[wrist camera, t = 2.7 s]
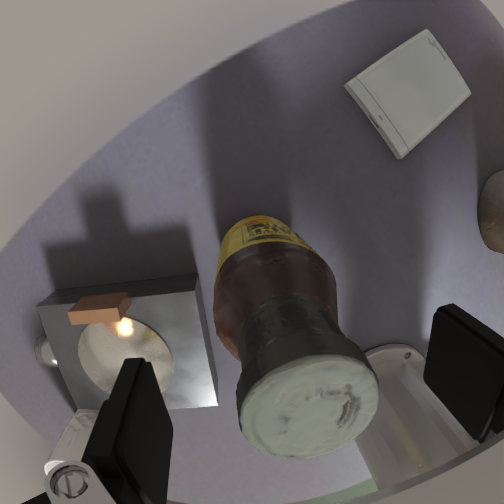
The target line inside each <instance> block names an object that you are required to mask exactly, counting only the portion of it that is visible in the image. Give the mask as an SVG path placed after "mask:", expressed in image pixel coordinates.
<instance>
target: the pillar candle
mask: <svg viewBox="0 0 504 504" xmlns="http://www.w3.org/2000/svg"><path fill="white" fill-rule="evenodd" d="M478 210H479V211H478V221H479V227H480V231H481V235H482V238H483V241H484V243H485V245H486V246H487V247H488V248H489V249H491V250H493V251H495V252H500V253H502V254H504V170H503V171H498V172H496V173H495V174H493V175H492V176H490V177H489V179H488V180H487V181H486V183H485V185H484V187H483V190H482V193H481V195H480V199H479V207H478Z"/></svg>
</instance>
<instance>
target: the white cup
mask: <svg viewBox="0 0 504 504" xmlns="http://www.w3.org/2000/svg"><path fill="white" fill-rule="evenodd" d="M99 411H100V410H92V409H78V410H77V411H76V413H75V415H74V417H73V419H72V420H71V421H70V422H69V423H68V425H67V427H66V428H65V430H64V432H63V433H62V435H61V436H60V438H59V440H58V442H57V443H56V445H55V447H54V449H53V451H52V453H51V454H50V456H49V458H48V460H47V462H46V464H45V466H44V471H45V473H46V475H47V474H48V472H49V471H50V470H51V469H52V468H53V467H55V466H56V465H58V464H60V463H62V462H66V461H80V462H81V459H82V456H83V453H84V450H85V448H86V445H87V442H88V440H89V437H90V434H91V432H92V429H93V426H94V424H95V421H96V419H97V416H98V413H99Z"/></svg>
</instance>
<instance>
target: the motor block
mask: <svg viewBox="0 0 504 504" xmlns="http://www.w3.org/2000/svg"><path fill="white" fill-rule="evenodd" d="M36 307H37V310H38V313H39V316H40V319H41V322H42V325H43V328H44V331H45V334H46V336H47V337H39V338H38V339H37V341H36V344H35V354H36V358H37V360H38V362H39V364H40V365H41V366H43V367H59V369H60V372H61V374H62V376H63V379H64V381H65V383H66V385H67V388H68V390H69V392H70V394H71V396H72V398H73V400H74V403H75V405H76V407H77V409H92V410H100V408H101V406H102V404H103V402H104V401H105V400H107V399H109V396H110V394H111V391H112V389H113V386H114V384H115V381H116V379H117V376H118V374H119V372H120V369H121V367H122V364H123V362H124V360H125V359H126V358H139V357H143V358H144V359H145V361H146V362H149V361H150V362H151V363H152V366H153V369H154V372H155V375H156V379H157V382H158V385H159V388H160V391H161V394H162V397H163V399H164V402H165V405H166V408H167V409H180V408H195V407H207V406H218V378H217V373H216V368H215V363H214V358H213V353H212V348H211V343H210V338H209V332H208V327H207V321H206V316H205V310H204V305H203V299H202V293H201V287H200V281H199V275H198V274H192V275H184V276H175V277H167V278H159V279H150V280H142V281H133V282H125V283H116V284H107V285H98V286H89V287H80V288H71V289H62V290H56V291H54V292H53V293H52V294H51V295H50V296H48V297H47V298H46V299H45V300H44V301H42V302H41V303H40V304H39V305H38V306H36Z"/></svg>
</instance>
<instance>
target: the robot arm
mask: <svg viewBox="0 0 504 504" xmlns="http://www.w3.org/2000/svg"><path fill="white" fill-rule="evenodd" d="M364 354H365V356H366V357H367V359H368V360H369V363H370V364H371V366H372V369H373V370H374V372H375V373H376V375H377V378H378V380H379V400H378V408H377V411H376V413H375V414H374V417H373V418H372V420H371V421H370V423H369V424H368V426H367V427H366V428H365V430H364V431H363V432H361V433H360V434H359V435H358V436H357V437H356V438H354V440H355V442H356V444H357V446H358V448H359V450H360V452H361V454H362V456H363V458H364V460H365V462H366V465H367V467H368V469H369V471H370V473H371V475H372V477H373V479H374V481H375V483H376V485H377V487H378V490H379V491H376V492H373V493H370V494H367V495H363V496H360V497H357V498H354V499H351V500H347V501H343V502H340V503H337V504H504V338H503V337H502V336H500V335H499V334H497V333H496V332H495V331H493V330H492V329H490V328H489V327H487V326H486V325H485V324H483V323H482V322H480V321H479V320H477V319H476V318H474V317H473V316H472V315H470V314H469V313H467V312H466V311H464V310H463V309H461V308H460V307H458V306H457V305H455V304H453V303H452V304H448V305H444V306H441V307H439V308H438V309H437V311H436V313H435V314H434V316H433V322H432V329H431V335H430V341H429V347H428V352H427V357H426V362H425V360H424V358H423V357H422V356H421V354H420V353H419V352H418V351H416V350H415V349H414V348H413V347H410V346H408V345H404V344H387V345H383V346H379V347H376V348H374V349H372V350H369V351H367V352H365V353H364ZM495 434H496V435H495ZM172 439H173V426H172V422H171V419H170V416H169V414H168V411H167V408H166V405H165V402H164V399H163V397H162V394H161V391H160V388H159V385H158V382H157V379H156V375H155V372H154V369H153V366H152V363H151V362H150V361H149V362H146V361H145V359H144V358H143V357H139V358H126V359H125V360H124V362H123V364H122V367H121V369H120V372H119V374H118V376H117V379H116V381H115V384H114V386H113V389H112V391H111V394H110V396H109V399H107V400H105V401H104V402H103V404H102V406H101V408H100V411H99V413H98V416H97V419H96V421H95V424H94V426H93V429H92V432H91V434H90V437H89V440H88V442H87V445H86V448H85V450H84V453H83V456H82V459H81V462H80V461H66V462H62V463H60V464H58V465H56V466H55V467H53V468H52V469H51V470H50V471H49V472H48V474H47V476H46V478H45V489H46V492H44V493H43V494H40V495H38V496H36V497H34V498H32V499H30V500H28V501H26V502H24V503H22V504H166V501H167V489H168V478H169V468H170V458H171V448H172Z"/></svg>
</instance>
